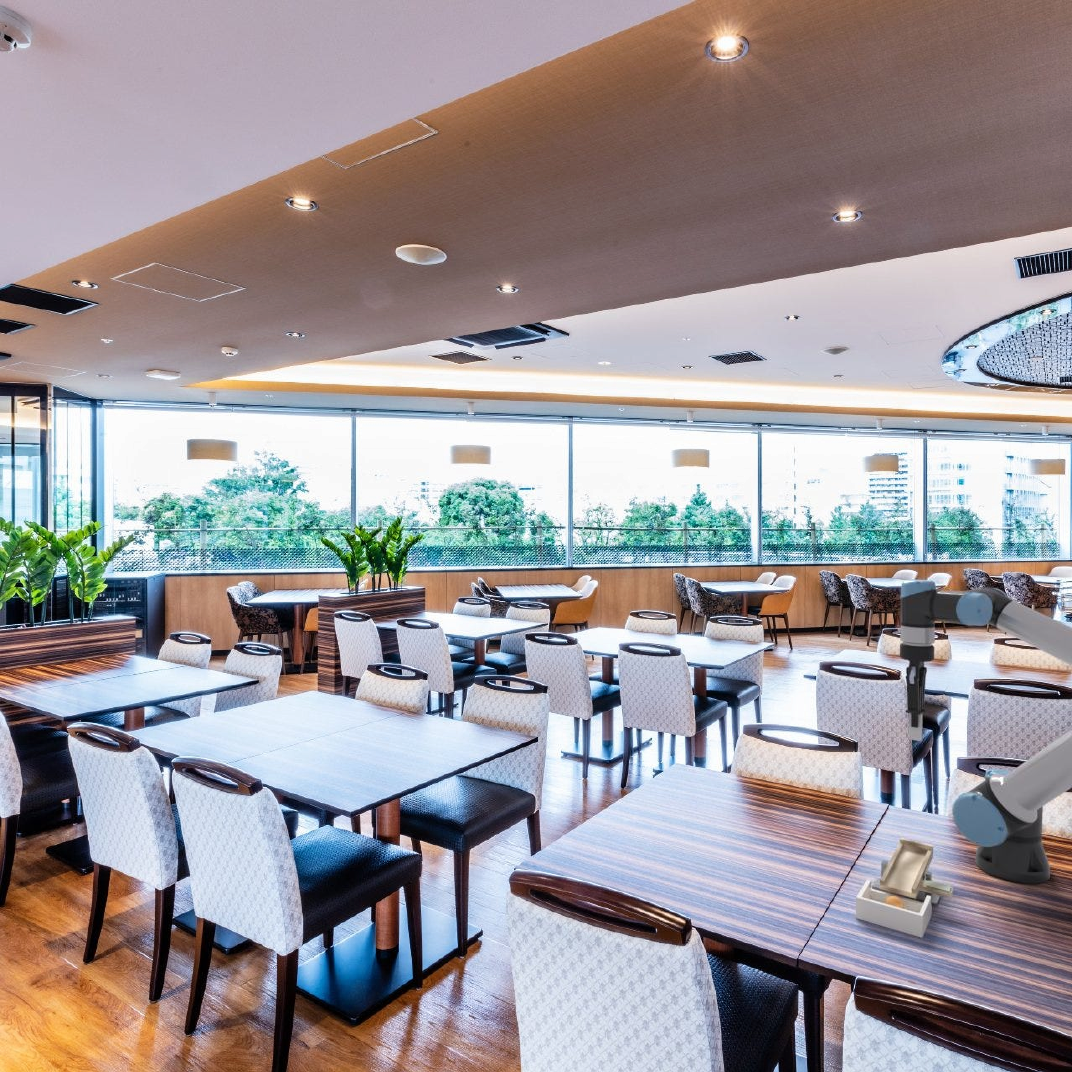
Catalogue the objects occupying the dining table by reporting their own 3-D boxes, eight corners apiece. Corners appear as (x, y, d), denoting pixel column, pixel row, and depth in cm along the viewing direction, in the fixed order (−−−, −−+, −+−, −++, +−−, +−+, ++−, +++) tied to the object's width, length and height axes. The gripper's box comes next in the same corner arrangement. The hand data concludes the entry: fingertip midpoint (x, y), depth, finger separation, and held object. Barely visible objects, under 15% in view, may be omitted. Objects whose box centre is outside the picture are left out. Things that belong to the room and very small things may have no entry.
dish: (931, 915, 161) (932, 894, 161) (922, 937, 153) (922, 916, 153) (868, 897, 169) (868, 877, 169) (855, 918, 160) (856, 897, 160)
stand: (940, 897, 169) (940, 871, 169) (936, 906, 165) (936, 879, 165) (877, 880, 177) (877, 855, 177) (872, 888, 173) (872, 863, 172)
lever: (962, 863, 175) (962, 851, 175) (947, 907, 158) (947, 894, 158) (899, 848, 183) (899, 837, 182) (879, 888, 166) (879, 876, 165)
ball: (905, 912, 162) (905, 895, 162) (901, 919, 159) (902, 903, 159) (887, 907, 164) (887, 891, 164) (883, 914, 161) (884, 898, 161)
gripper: (905, 638, 194) (904, 730, 195) (894, 645, 183) (893, 743, 184) (938, 641, 190) (937, 735, 190) (929, 648, 179) (927, 748, 180)
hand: (915, 739), depth 187 cm, fingers closed
